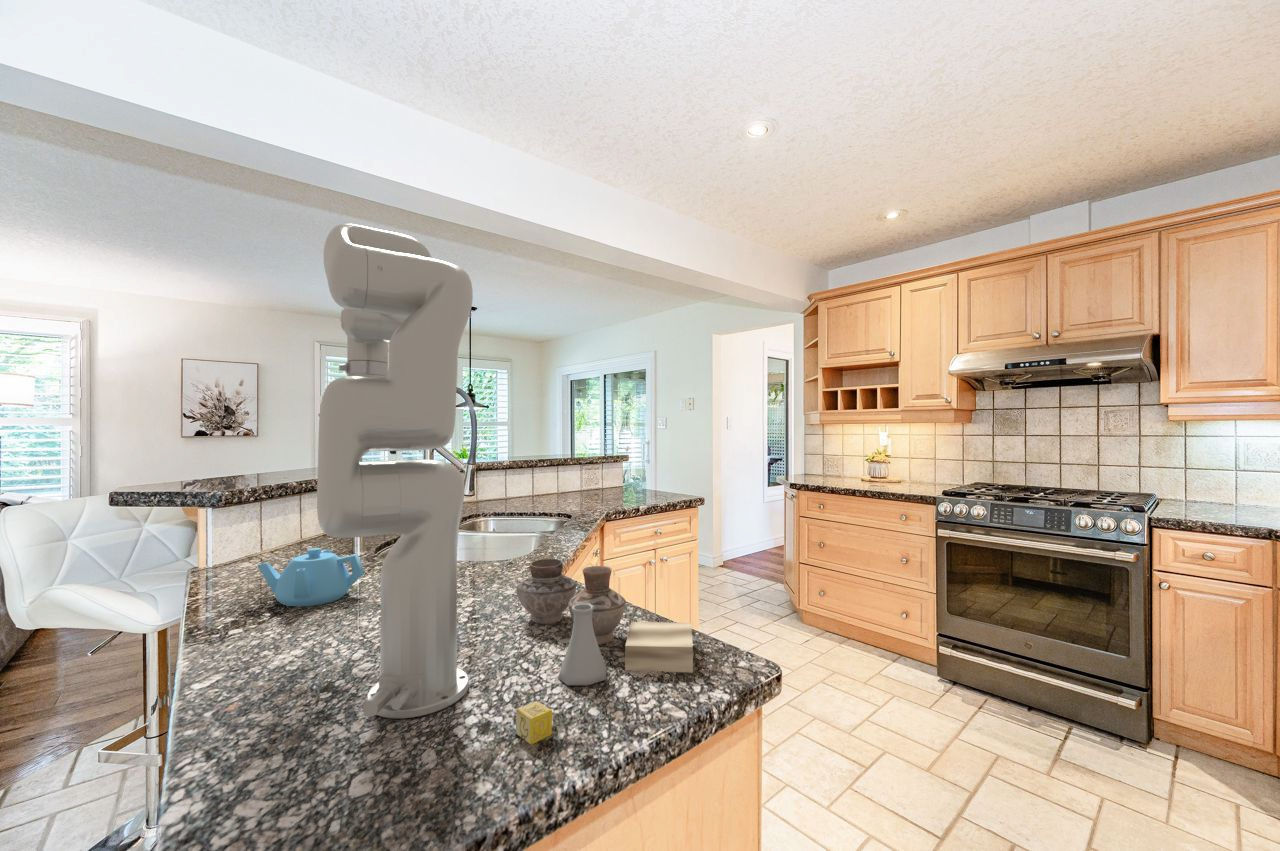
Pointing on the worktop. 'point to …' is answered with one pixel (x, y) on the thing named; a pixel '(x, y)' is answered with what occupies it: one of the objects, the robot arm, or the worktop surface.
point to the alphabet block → (533, 722)
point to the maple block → (659, 647)
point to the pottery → (571, 596)
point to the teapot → (313, 578)
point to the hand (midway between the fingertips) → (367, 454)
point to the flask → (583, 651)
